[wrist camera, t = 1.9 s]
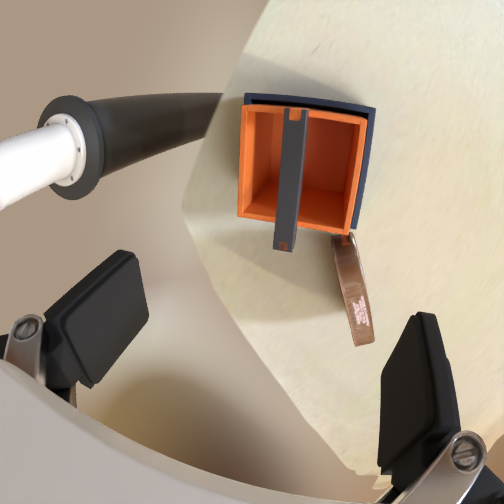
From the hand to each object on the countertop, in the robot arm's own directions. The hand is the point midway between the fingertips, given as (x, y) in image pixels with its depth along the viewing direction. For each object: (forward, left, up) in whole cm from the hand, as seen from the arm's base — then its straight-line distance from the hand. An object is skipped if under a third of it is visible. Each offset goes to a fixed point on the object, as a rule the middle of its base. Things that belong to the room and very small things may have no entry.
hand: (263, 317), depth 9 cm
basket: (-1, +1, -26) cm, 26 cm away
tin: (+7, -14, -27) cm, 31 cm away
